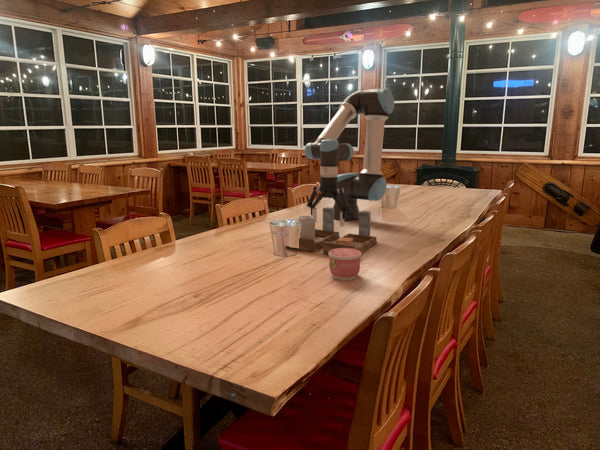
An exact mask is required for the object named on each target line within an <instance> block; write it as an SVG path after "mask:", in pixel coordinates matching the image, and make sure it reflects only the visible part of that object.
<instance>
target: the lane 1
mask: <svg viewBox="0 0 600 450" xmlns="http://www.w3.org/2000/svg"><path fill="white" fill-rule="evenodd" d="M315 236H320V237H322V238H321V239H319V240H317V241H315V243H314V240H312V239H305V238H299V249H298V250H301V251H306V252H314V251H316V250H317V249H320V248H323V242H324V241H326V242H334V241H335V240H337V239H339V238H340V232H339V231H335V219H334V208H333V207H329V206H327V207H324V208H322V229H318V228H315Z"/></svg>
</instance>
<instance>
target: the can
mask: <svg viewBox="0 0 600 450" xmlns="http://www.w3.org/2000/svg"><path fill="white" fill-rule="evenodd" d="M313 218H314V217H312V215H302V216H298V217H297V220H296V221H299V222H301V223H302V225H301V232H300V238H305V239H312V240H314V243H315V242H316V235H315V229H316V223H315V220H314V219H313Z"/></svg>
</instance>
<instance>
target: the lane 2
mask: <svg viewBox="0 0 600 450" xmlns="http://www.w3.org/2000/svg"><path fill="white" fill-rule="evenodd" d="M371 213H372V212H371V211H370V210H369V211H368V210H361V211H359V219H358V234H356V233H347V234H345V235H343V236H342V237H346V238H354V240H353V242H354V241H355V242H363V243H361V244H359V245H358V246H356V247H355V244H353V245H347V244H340V243H338V239H339V238H337V239H335V240H333V241H331V242H326V241H324V242H323V246H322V254H326V255H329V251H330V250H332V249H337V248H351V249H356V250H358V251H360V252H361V253H363V252H364V251H366V250H367V249H369V248H370V247H373V245H375V244H377V240H378V239H377V236H371V215H372V214H371Z"/></svg>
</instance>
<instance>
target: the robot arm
mask: <svg viewBox="0 0 600 450" xmlns="http://www.w3.org/2000/svg"><path fill="white" fill-rule="evenodd" d="M394 109H395V99H394V95H393V93H392V91H391V90H390V89H389V88H383V87H382V88H380V87H379V88H367V89H363V88H362V89H358V90H355V91H354V92H352V93H351V94H350V95H348V96H346V97H345V98H344V100H343V101H342V102H341V103H340V104H339V106H338V110H337V111H336V113H335V114H334V116H332V118H331V120H330V121H329V123H328V124H327V125H326V126H325V127H324V129H323V131H322V132H321V133H320V135H319V136H318V137H317V138H316V139H315V141H314V142H308V143H306V145H305V147H304V154H305V156H306V158H307V159H309V160H314V161H315V160H318V161H320V164H319V166H320V168H319V169H320V170H319V175H320V177H319V186H318V185H315V186H313V189H312V193H311V195H310V197H309V199H308V201H307V203H306V207H308V208H310V216H311V217H314V218H313V219H314V220H315V224H316V223H317V221H318V219H317V217H318V216H317V215H318V210H317V209H318V208H316V207H317V206H318V204H319V203H320V202H321V201H322V200H323V198H325V199H326V198H328V199H333V200H334V202H333V207H332V208H334V220H339V227H340V228H342V227H345V221H355V220H356V221H357V220H359V212H360V209H359V206H358V200H363V201H369V202H373V201H374V202H375V201H376V202H378V201H380V200H382V198H383V197H384V196H385V194H386V191H387V187H388V185H387V179H386V178H385V177H384V173H383V172H382V171H381V167H382V154H383V144H384V136H385V135H384V134H385V122H386V121H387V120H388V119H389V114H392V113H393V111H394ZM362 114H363V115H364V118H365V119H366V128H365V129H366V131H365V138H364V140H365V142H364V153H363V164H362V170H361V171H359V174H358V172H348V173H340V174H339V171H338V170H339V168H338V166H339V165H338V164H339V162H347V161H349V160H350V159H352V158H353V156H354V153H355V150H354V147H353V145H351V144H350V143H346V142H345V143H339V140H338V138H339V137H340V136H341V134H342V132H343V131H344V130H345V128H346V127H347V125H349V123H350V121H351V120H353V119H355V118H356V117H357V116H359V115H362ZM319 192H320V194H318V193H319ZM317 194H318V197H317Z"/></svg>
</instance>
